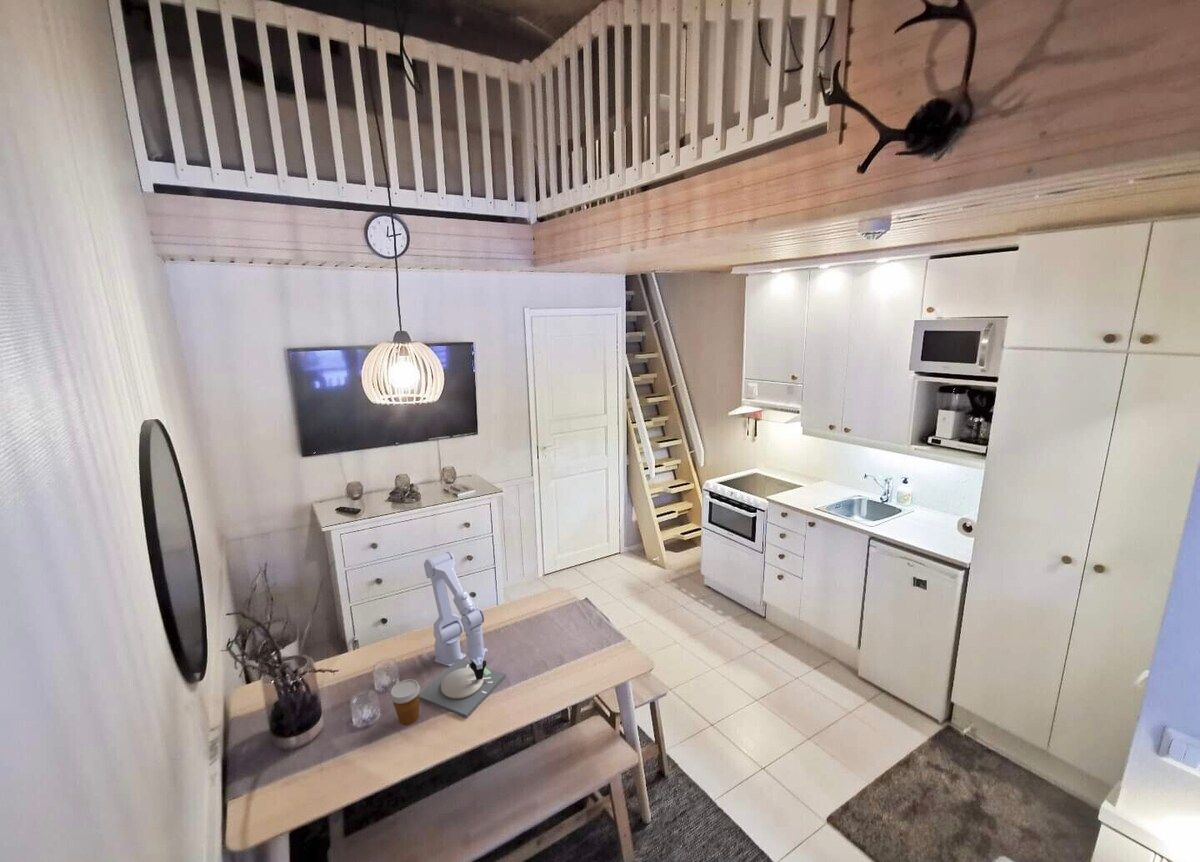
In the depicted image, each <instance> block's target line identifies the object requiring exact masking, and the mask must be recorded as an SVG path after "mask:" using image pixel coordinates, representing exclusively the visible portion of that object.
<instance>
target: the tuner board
mask: <svg viewBox="0 0 1200 862" xmlns="http://www.w3.org/2000/svg"><path fill="white" fill-rule="evenodd" d="M470 663H472V662H471V661H468V660H465V659H464V658H463V659H460V658H459V659H458V660H457V661H456V662H455V663H454V664H453V665H452V666H448V668H446V670H445V671H443V673H441V674H440V675H439V676H437V678H436V679H434V680H433V682H431V683H430V684H428V686H427V687H426V688H424V689H423V690H422V691H421V692H419V701H422V702H424V703H427V704H429V705H431V706H434V707H436V708H439V709H440V710H444V711H446V712H449V713H451V714H453V715H456V714H457V715H456V716H458V717H461V716H462V717H461V718H464V719H467V720H468V718H469V717H470V716H471V715H472V713H474V712H475V711H476V710H477V708H478V707H480V705H481V704H482V703H484V701H485V700H486V699H487V698H488V697H489V696H490V695H491V694H492V693H493V692H494V691H495V689H497V688H498V687H499V685H500V684H501V683H503V681H505V679H506V678H507V674H506V673H504V672H501V671H498V670H495V669H493V668H489V667H486V666H485V669H484V673H483V678H487V677H491V679H484V682H483V685H482V687H481V688H480V689H479V690H478V691H477V692H476V693H474V694H473V695H471V696H469V697H466V698H461V699H451V698H448V697H446V696H445V695H443V693H442V691H441V682H442V680H443V679H444V678H445V677H446V676H447V675H448V674H449V673H451V672H453V671H455V670H457V669H461V668H471V667H470Z"/></svg>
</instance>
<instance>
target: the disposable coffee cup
mask: <svg viewBox="0 0 1200 862" xmlns="http://www.w3.org/2000/svg"><path fill="white" fill-rule="evenodd" d="M420 691H421V686H420V684H419V683H418V681H417V680H415V679H412V678H411V679H409V678H408V679H403V680H401V681H399V682H397V683H396V684H394V685H393V687H392V688H391V690H390V694H389V698H390V700H391V701H392V703H393V706H394V710H395V712H396V715H397V719H398V722H399V724H400V725H401V726H404V727H405V726H406V727H407V726H411V725H413V724H415V723H416V722H417V721H418V720H419V717H420V700H419V694H420Z"/></svg>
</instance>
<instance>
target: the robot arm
mask: <svg viewBox="0 0 1200 862" xmlns="http://www.w3.org/2000/svg"><path fill="white" fill-rule="evenodd" d="M423 568H424V572H425V576H426V579H430V580H431V585H432V589H433V595H434V598H435V604H436V609H437V612H438V613H437V614H438V618H437V619H436V620H435V621H434V624H433V637H434V639H435V640H434V643H433V644H434V645H433V646H434V653H435V654H434V655H435V659H434V662H436V663H439V664H442V665H445V666H447V667H450V666H452V665H453V664H454V663H455V662H456V661H457V660H458V659H459V658H460V659H463V660H464V658H466V656H467V658H468V659H469V660H470V662H472V663H470V667H471V669H472V670H473V671H474V673H475V677H476V679H477V680H480V679H483V673H484V669H485V667H486V666H487V660H484V657H485V654H487V653H489V651H488V648H487V647H484V646H485V645H484V635H483V627H482V626H483V625H482V624H483V623H484V622H485V616H484V613H483V611H482V609H481V608H479V607H478V605H477V604H476V605H475V603H474V602H473V600H472V597H471V596H470V593H469V592H468V591H466V590H464V589H463V587H462V585H461V583H460V580H459V578H458V576H457V573H456V559H455V556H454V554H453V553H452V552H450V551H449V550H447V551H446V552H443V553H441V554H438V555H435V556H433V557H431V558H427V559H425V561H424V563H423ZM448 589H449V590H450V592H451V593H452V595H453V600H452V601H453V603H454V605H455V607H456V609H457V611H458V613H459V615H460V616H461V618H460V616H459V615H458V614H455V613H453V610H452V605H451V601H450V597H449V591H448ZM463 632H464V633H465V639H466V647H467V653H463V652H462V651H461V644H460V643H461V642H460V638H461V635H462V634H464V633H463Z"/></svg>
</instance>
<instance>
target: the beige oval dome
mask: <svg viewBox="0 0 1200 862" xmlns="http://www.w3.org/2000/svg"><path fill="white" fill-rule="evenodd" d="M484 679H491V677H487V678H483V679H480V680H477V679H476V677H475V673H474V671H473V670H472V669H471V668H461V669H457V670H455V671H453V672H451V673H449V674H448V675H447V676H446V677H445V678H444V679H443V680H442V682H441V691H442V693H443V695H445V696H446V697H448V698H451V699H461V698H466V697H469V696H471V695H473V694H474V693H476V692H477V691H478V690H479V689H480V688H481V687H482V685H483V682H484Z"/></svg>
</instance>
